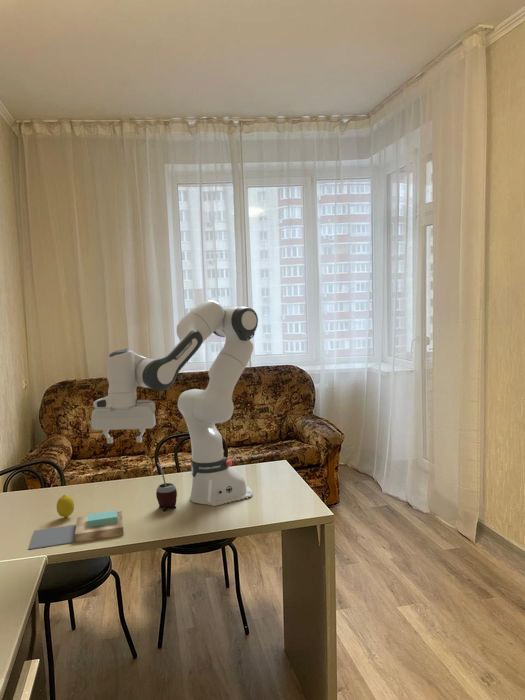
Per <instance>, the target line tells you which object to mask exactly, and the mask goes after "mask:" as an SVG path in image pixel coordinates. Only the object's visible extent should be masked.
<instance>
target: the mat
mask: <svg viewBox="0 0 525 700" xmlns="http://www.w3.org/2000/svg"><path fill="white" fill-rule="evenodd" d="M75 530H76V523H75V524H70V525H63V526H56V527H49V528H42V529H37V530H36V529H35V530H34V531H33V534H32V537H31V541H30V543H29V547H28V550H36V549H42V548H49V547H56V546H61V545H68V544H69V545H70V544H74V543H76V542H75Z"/></svg>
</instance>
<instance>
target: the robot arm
mask: <svg viewBox="0 0 525 700" xmlns="http://www.w3.org/2000/svg"><path fill="white" fill-rule="evenodd" d="M258 324H259V317H258V314H257V312H256V311H255V309H253V308H251V307H248V306H244V305H242V306H231V307H230V306H229V307H225V308H223V307H222V305H221V304H220V303H219V302H217V301H216V300H212V299H209V300H205V301H204V302H202V303H200V304H198V305H197V306H194V308H193V309H191V310H190V311H189V312H188V313H187V314H185V316H183V317H182V318H181V320H180V321H179V322H178V323H177V325H176V336H177V337H178V339H179V341H178V343H177V344H176V345H175V346H174V347H173V348H172V349H171V350H170V352H169V353H167V355H165V356H163V357H160V358H150V357H149V358H148V357H145V356H143V355H140V354H138V353H136V352H135V351H133V350H132V349H128V348H125V349H120V350H119V349H118V350H115V351H113V352H111V353H110V354H109V355H108V358H107V367H106V376H107V377H106V379H107V381H108V389H107V393H108V394H107V395H106V396H102V397H101V398H98V399H96V400H94V401H93V407H94V409H93V410H92V412H91V420H90V424H91V425H90V427H91V429H92V430H93V431H102V434H103V435H104V437H105V438H106V444H113V443H114V437H113V436H111V435H110V434H109V432H110V431H113V430H116V431H117V430H118V431H119V430H138V431H139V433H140V434H139V435H138V436H136V437H135V440H136V441H135V442H136V443H142V442H143V435H144V433H145V432H146V429H148V430H149V429H153V428H155V426H156V425H157V422H156V421H157V420H156V414H155V413H156V403H155V402H154V401H153V400H151V399H137V388H138V387H142V388H146V389H151V390H154V391H157V392H163V391H166V390H168V389H170V388H171V387H172V386H173V384H174V383H175V381H176V379H177V377H178V374H179V373H180V371H181V369H182V368H183V367H185V365H186V364H187V363H188V362H189V360H190V359H191V358H192V357H193V356H194V355H195V354H196V352H197V351H199V349H200V348H201V346H202V344H203V343H204V342H205V341H206V340H207V339H208V338H209V337H210V336H212V334H214V335H215V336H218V337H222V338H225V342H224V344H223V347H222V348H221V349H220V352H219V353H218V354H217V356H216V358H215V359H214V361H213V362H212V364H211V365H210V368H209V370H208V372H207V373H208V375H207V376H208V377H209V381H208V384H207V387H205V389H199V388H192V389H187V390H185V391H183V392H181V393H180V395H179V396H178V399H177V409H178V411H179V413H181V415H182V417H183V418H184V421H185V424H186V427H187V431H188V433H189V437H190V443H191V459H190V460H191V461H190V462H191V463H190V470H191V471H190V472H191V476H192V484H191V491H190V492H191V493H190V496H189V501H191V502H192V503H196V504H200V505H208V506H214V507H216V506H219V505H223V504H224V503H225V504H228V503H227V502H229V503H232V502H231V501H234V502H236V501H235V500H238V501H241V500H240V499H243V500H245V499H244V498H247V497H251V496H253V495H252V494H253V491H252V489H251V488H250V487H249V486H248V485H246V481H245V479H244V476H242V474H241V473H239V472H238V471H236V470H235V469H233V468H232V466H233V461H232V460H231V459H229V458H228V457H226V456H224V453H223V452H224V450H223V447H224V446H223V438H222V434H221V433H220V431H219V430H218V429H217V427H216V424H222V423H225V422H227V421H229V420H230V419H231V418H232V416H233V413H234V410H235V405H234V401H233V393H234V390H235V387H236V385H237V383H238V381H239V379H240V378H241V376H242V374H243V372H244V370H245V369H246V367H247V365H248V363H249V361H250V359H251V356H252V354H253V351H254V344H253V342H252V341H251V339H252V338H253V337H254V336H255V334H256V331H257V328H258ZM251 498H252V497H251ZM247 499H248V498H247Z"/></svg>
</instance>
